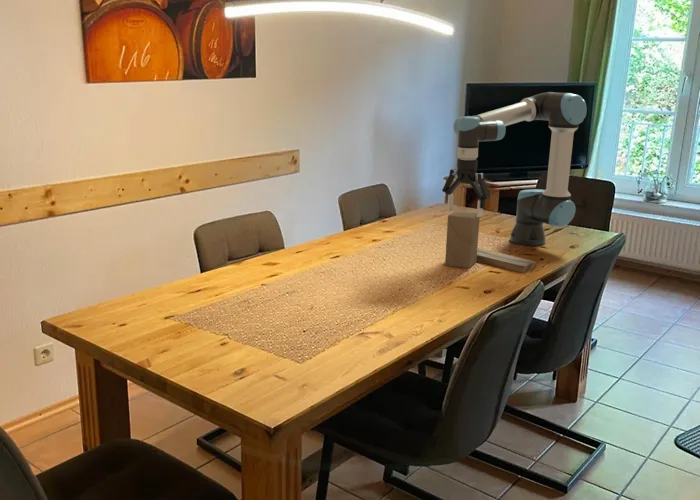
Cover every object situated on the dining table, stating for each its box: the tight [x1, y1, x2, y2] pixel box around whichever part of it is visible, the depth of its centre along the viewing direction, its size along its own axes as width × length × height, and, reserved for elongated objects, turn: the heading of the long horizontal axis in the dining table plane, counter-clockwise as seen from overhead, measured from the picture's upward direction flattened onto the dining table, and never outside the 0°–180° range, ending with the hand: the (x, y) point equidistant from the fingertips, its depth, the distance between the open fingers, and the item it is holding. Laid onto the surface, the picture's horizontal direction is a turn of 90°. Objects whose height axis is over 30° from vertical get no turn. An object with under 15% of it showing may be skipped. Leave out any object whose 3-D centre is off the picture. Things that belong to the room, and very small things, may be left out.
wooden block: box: [444, 210, 481, 269], centre depth 268 cm, size 10×10×20 cm
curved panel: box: [476, 247, 537, 273], centre depth 273 cm, size 9×28×4 cm, turn 47°
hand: (464, 213), depth 265 cm, fingers open, 13 cm apart
